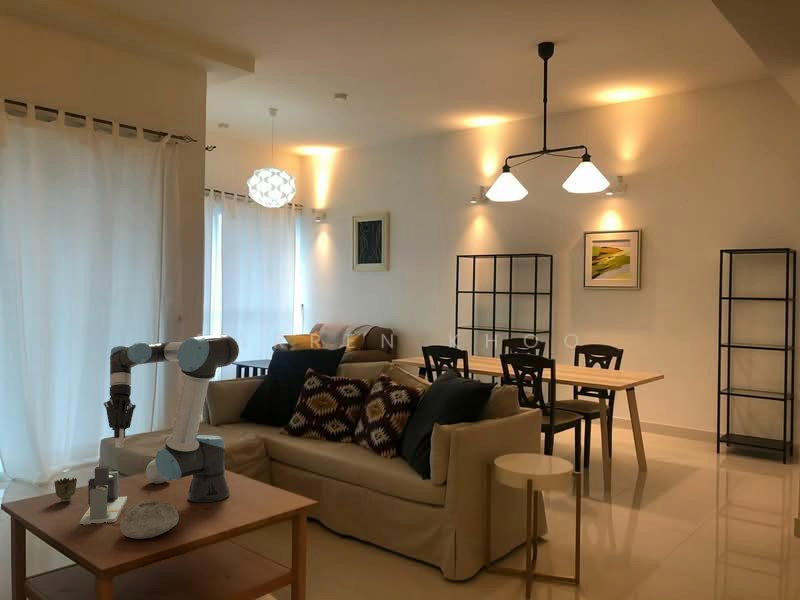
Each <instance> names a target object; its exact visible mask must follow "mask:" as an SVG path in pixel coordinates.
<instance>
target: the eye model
mask: <svg viewBox="0 0 800 600" xmlns="http://www.w3.org/2000/svg"><path fill="white" fill-rule="evenodd" d="M145 476H146V478H147V479H148V480H149V481H150V482H151V483H153V484H163V483H165V482H167V480H165V479H164V478H163V477H162V476H161V475H160V474H159V472H158V470H157V468H156V464H155V458H154V459H152V460H151V461H150V462H149V463H148V464H147V466H146V469H145Z"/></svg>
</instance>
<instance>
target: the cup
mask: <svg viewBox="0 0 800 600" xmlns="http://www.w3.org/2000/svg"><path fill="white" fill-rule="evenodd" d="M77 481H78V480H77V478H76V477H75V478H74V477H72V479H70V478H69V477H64V478H63V479H62V478H60V479H57V480H55V481H54V482H53V483H54V489H55V495H56V496H57V498H59V500H60V502H61V503H64V504H65V503H69V502H71V501H72V497H73V496H74V495H75V493H76V490H77Z"/></svg>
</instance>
